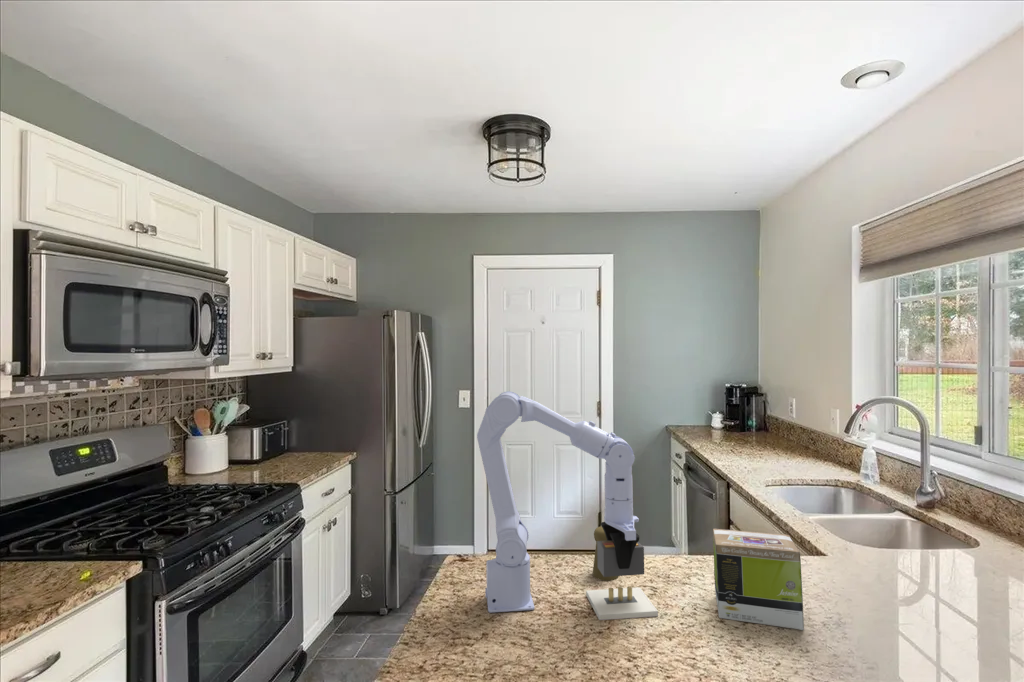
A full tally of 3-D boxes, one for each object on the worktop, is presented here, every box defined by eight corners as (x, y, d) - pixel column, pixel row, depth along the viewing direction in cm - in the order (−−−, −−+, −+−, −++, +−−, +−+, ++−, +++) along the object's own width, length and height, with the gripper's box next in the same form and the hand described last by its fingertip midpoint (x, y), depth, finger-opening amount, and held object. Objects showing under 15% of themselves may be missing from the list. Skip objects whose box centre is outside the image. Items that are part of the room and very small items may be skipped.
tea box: (792, 606, 100) (791, 533, 101) (804, 632, 91) (802, 552, 91) (713, 595, 105) (712, 526, 106) (717, 619, 96) (715, 543, 96)
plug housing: (603, 576, 99) (603, 548, 99) (597, 567, 103) (597, 540, 103) (644, 574, 100) (643, 546, 100) (636, 565, 104) (635, 538, 104)
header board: (599, 620, 96) (598, 602, 96) (586, 595, 106) (586, 578, 106) (658, 616, 97) (657, 598, 97) (639, 591, 107) (639, 575, 107)
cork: (618, 581, 112) (618, 533, 112) (592, 579, 113) (591, 531, 113) (618, 570, 118) (617, 524, 118) (593, 568, 119) (592, 522, 119)
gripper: (650, 506, 95) (651, 577, 95) (625, 486, 110) (626, 548, 109) (615, 508, 94) (616, 579, 94) (595, 488, 109) (596, 549, 108)
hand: (619, 562), depth 102 cm, fingers closed on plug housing, 4 cm apart
